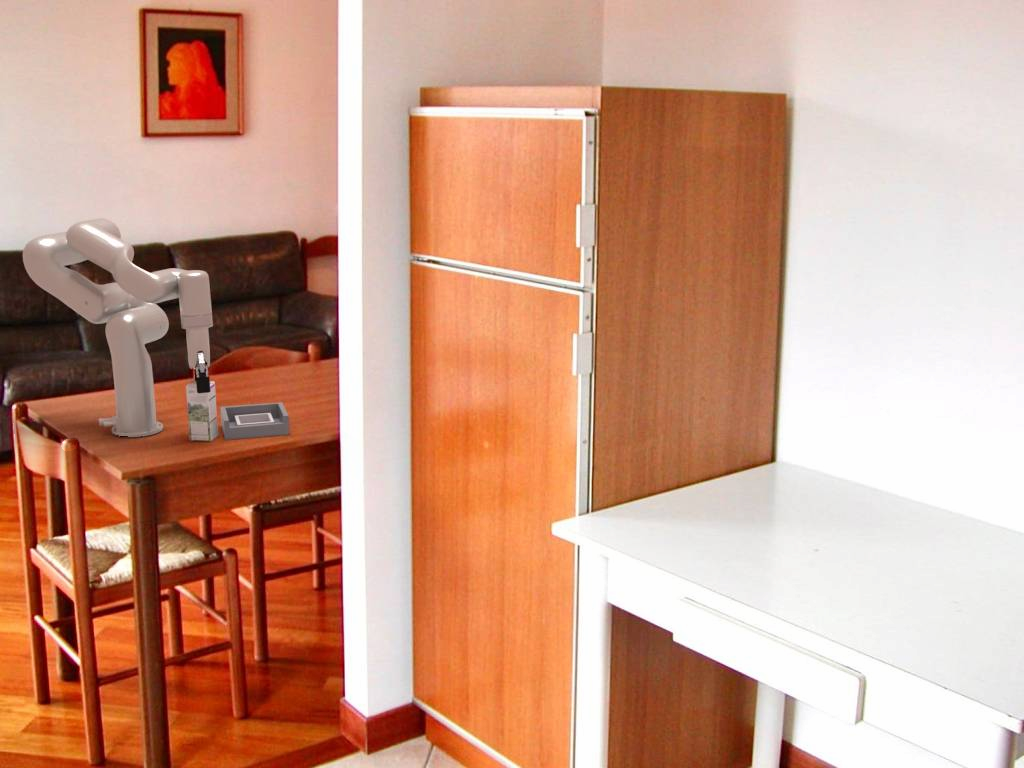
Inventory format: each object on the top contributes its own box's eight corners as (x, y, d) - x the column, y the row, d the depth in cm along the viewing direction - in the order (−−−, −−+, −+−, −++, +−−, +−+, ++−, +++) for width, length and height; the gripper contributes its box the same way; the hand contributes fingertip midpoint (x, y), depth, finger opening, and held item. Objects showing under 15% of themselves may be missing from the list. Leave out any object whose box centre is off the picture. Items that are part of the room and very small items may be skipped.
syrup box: (219, 435, 300) (215, 380, 297) (211, 442, 295) (207, 385, 291) (197, 434, 301) (193, 379, 297) (188, 441, 295) (185, 385, 292)
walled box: (225, 439, 296) (224, 420, 295) (221, 425, 309) (220, 407, 308) (289, 434, 301) (288, 415, 300) (282, 420, 314) (282, 402, 313)
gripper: (179, 316, 297) (185, 382, 301) (182, 328, 281) (188, 397, 285) (210, 314, 300) (216, 379, 304) (214, 325, 283) (220, 394, 287)
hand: (202, 388), depth 294 cm, fingers open, 9 cm apart
